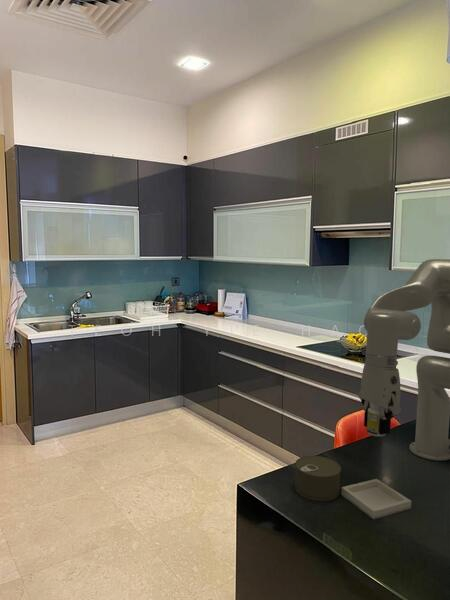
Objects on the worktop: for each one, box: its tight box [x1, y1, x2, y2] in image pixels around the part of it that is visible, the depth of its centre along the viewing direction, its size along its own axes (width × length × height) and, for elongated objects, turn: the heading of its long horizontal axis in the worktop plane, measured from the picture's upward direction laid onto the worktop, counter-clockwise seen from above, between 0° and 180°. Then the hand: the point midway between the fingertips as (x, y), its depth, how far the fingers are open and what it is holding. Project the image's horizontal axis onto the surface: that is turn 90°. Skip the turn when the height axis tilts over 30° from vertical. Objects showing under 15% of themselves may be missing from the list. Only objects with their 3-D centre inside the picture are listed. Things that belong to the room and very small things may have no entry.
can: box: [294, 455, 342, 502], centre depth 119 cm, size 12×12×7 cm
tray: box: [340, 478, 412, 520], centre depth 114 cm, size 12×12×2 cm
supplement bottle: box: [366, 402, 388, 437], centre depth 115 cm, size 5×5×8 cm
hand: (376, 429), depth 116 cm, fingers closed on supplement bottle, 4 cm apart
